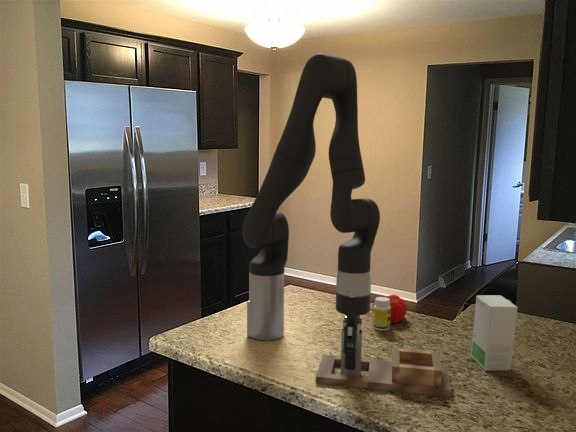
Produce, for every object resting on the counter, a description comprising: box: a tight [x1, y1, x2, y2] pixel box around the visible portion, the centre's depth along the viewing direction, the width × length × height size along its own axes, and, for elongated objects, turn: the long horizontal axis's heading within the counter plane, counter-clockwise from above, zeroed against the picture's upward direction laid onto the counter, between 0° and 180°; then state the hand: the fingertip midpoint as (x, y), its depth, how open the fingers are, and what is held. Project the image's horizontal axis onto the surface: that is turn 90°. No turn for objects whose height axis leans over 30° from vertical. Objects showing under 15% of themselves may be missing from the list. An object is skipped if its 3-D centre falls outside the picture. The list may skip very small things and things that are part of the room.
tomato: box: [371, 294, 408, 324], centre depth 153 cm, size 10×11×6 cm
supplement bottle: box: [372, 296, 391, 332], centre depth 146 cm, size 5×5×8 cm
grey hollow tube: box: [340, 328, 363, 377], centre depth 117 cm, size 4×4×10 cm
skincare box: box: [470, 294, 519, 372], centre depth 123 cm, size 8×7×16 cm
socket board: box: [315, 347, 452, 398], centre depth 116 cm, size 28×12×5 cm, turn 79°
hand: (351, 361), depth 117 cm, fingers open, 7 cm apart
